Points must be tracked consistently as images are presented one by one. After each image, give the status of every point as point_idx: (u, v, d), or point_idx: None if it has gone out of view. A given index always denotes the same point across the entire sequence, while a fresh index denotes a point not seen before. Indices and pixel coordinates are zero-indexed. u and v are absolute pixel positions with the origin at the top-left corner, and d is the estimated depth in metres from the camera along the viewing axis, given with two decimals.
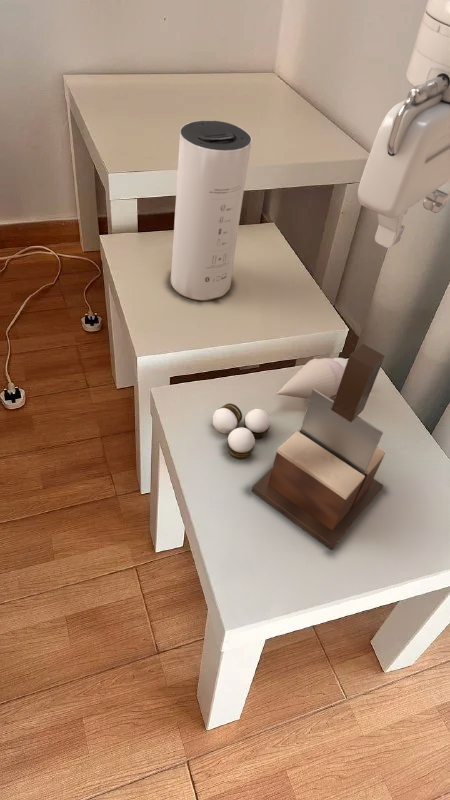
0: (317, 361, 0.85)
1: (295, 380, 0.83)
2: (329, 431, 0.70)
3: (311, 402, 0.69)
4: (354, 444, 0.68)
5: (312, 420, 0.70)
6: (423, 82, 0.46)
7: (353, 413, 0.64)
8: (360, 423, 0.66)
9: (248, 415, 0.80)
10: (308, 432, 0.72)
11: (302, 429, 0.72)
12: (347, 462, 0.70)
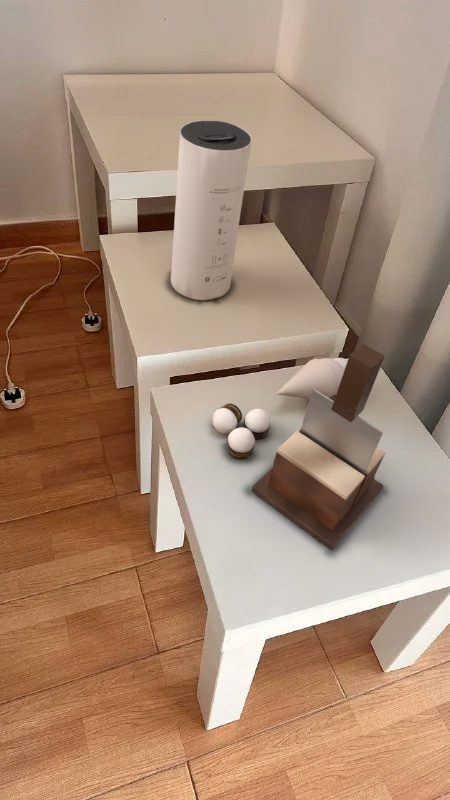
0: (317, 361, 0.85)
1: (295, 380, 0.83)
2: (329, 431, 0.70)
3: (311, 402, 0.69)
4: (354, 444, 0.68)
5: (312, 420, 0.70)
6: None
7: (353, 413, 0.64)
8: (360, 423, 0.66)
9: (248, 415, 0.80)
10: (308, 432, 0.72)
11: (302, 429, 0.72)
12: (347, 462, 0.70)
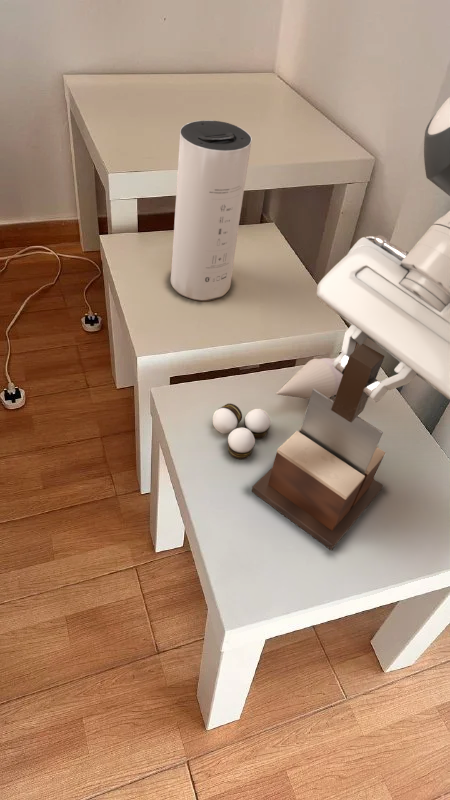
0: (317, 361, 0.85)
1: (295, 380, 0.83)
2: (329, 432, 0.70)
3: (311, 402, 0.69)
4: (354, 444, 0.68)
5: (312, 420, 0.70)
6: None
7: (353, 413, 0.64)
8: (360, 423, 0.66)
9: (248, 415, 0.80)
10: (308, 432, 0.72)
11: (302, 429, 0.72)
12: (347, 462, 0.70)
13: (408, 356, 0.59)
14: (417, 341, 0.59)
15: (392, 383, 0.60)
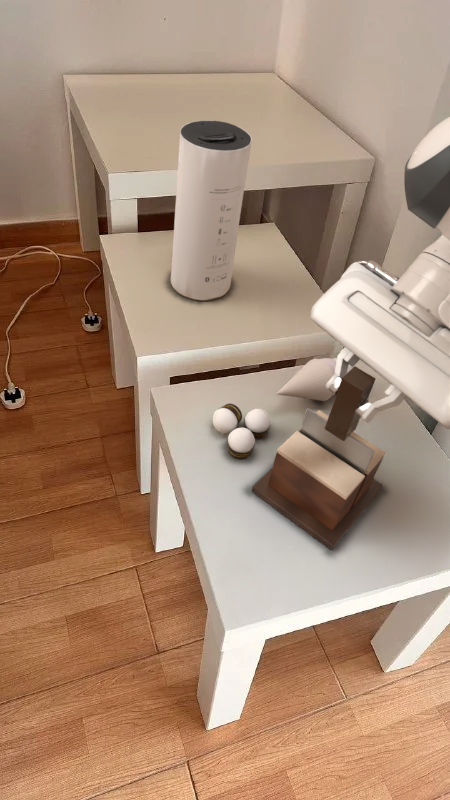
0: (317, 361, 0.85)
1: (295, 380, 0.83)
2: None
3: (305, 421, 0.71)
4: (347, 461, 0.70)
5: None
6: None
7: (345, 433, 0.66)
8: (352, 442, 0.68)
9: (248, 415, 0.80)
10: None
11: None
12: None
13: (398, 379, 0.61)
14: (406, 364, 0.61)
15: (383, 405, 0.62)
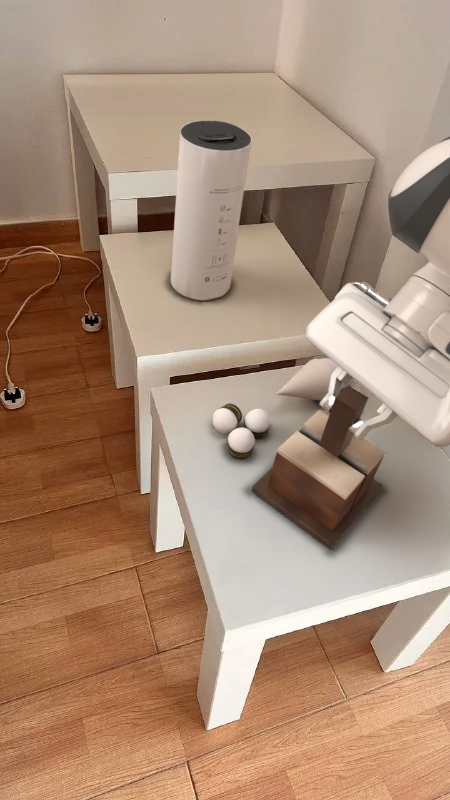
0: (317, 361, 0.85)
1: (295, 380, 0.83)
2: None
3: None
4: None
5: None
6: None
7: (339, 449, 0.68)
8: (346, 457, 0.70)
9: (248, 415, 0.80)
10: None
11: None
12: None
13: (389, 399, 0.63)
14: (398, 384, 0.63)
15: (375, 423, 0.64)
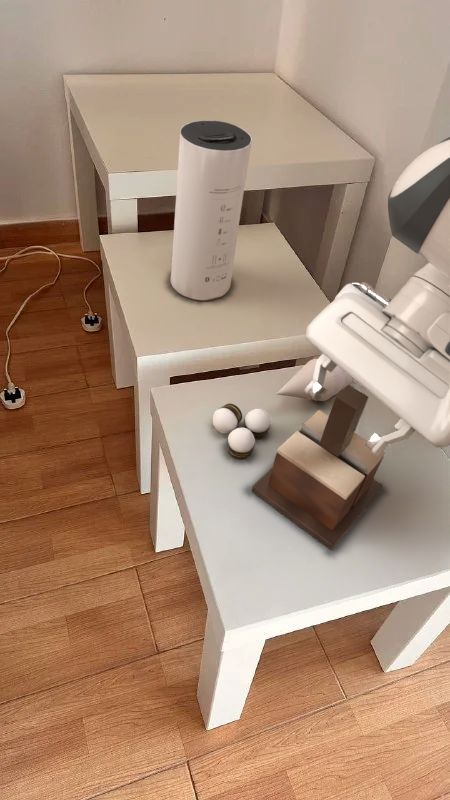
0: None
1: (295, 380, 0.83)
2: None
3: None
4: None
5: None
6: None
7: (339, 448, 0.68)
8: (346, 457, 0.70)
9: (248, 415, 0.80)
10: None
11: None
12: None
13: (389, 399, 0.63)
14: (397, 385, 0.63)
15: (393, 439, 0.63)
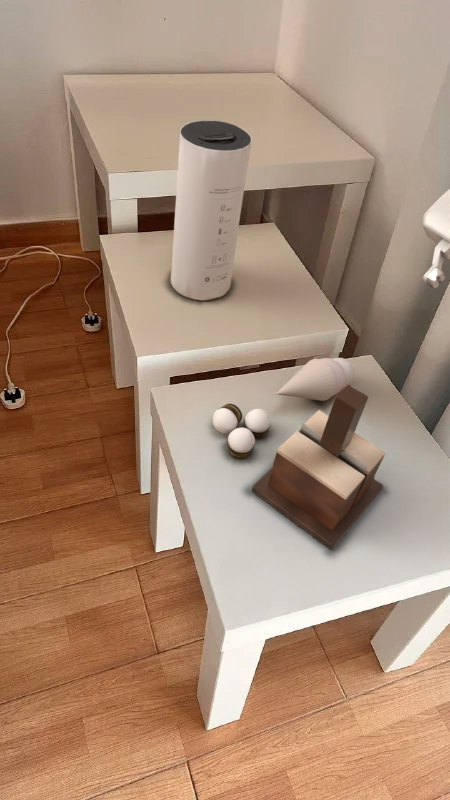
0: (317, 361, 0.85)
1: (295, 380, 0.83)
2: None
3: None
4: None
5: None
6: None
7: (339, 448, 0.68)
8: (346, 457, 0.70)
9: (248, 415, 0.80)
10: None
11: None
12: None
13: None
14: None
15: None
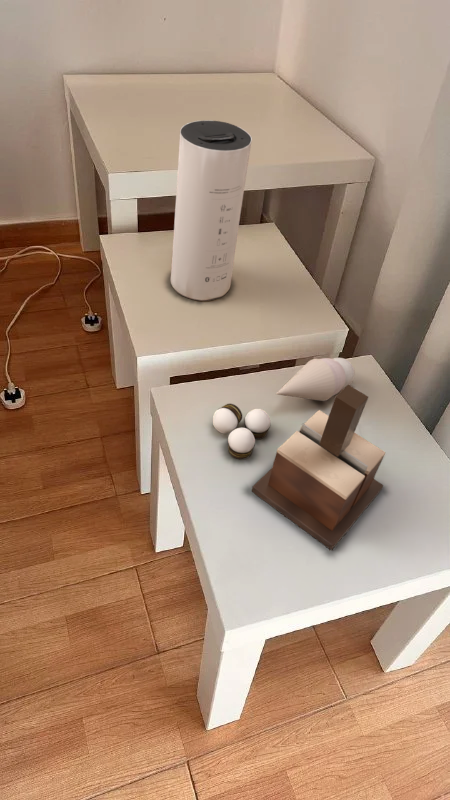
0: (317, 361, 0.85)
1: (295, 380, 0.83)
2: None
3: None
4: None
5: None
6: None
7: (339, 448, 0.68)
8: (346, 457, 0.70)
9: (248, 415, 0.80)
10: None
11: None
12: None
13: None
14: None
15: None
